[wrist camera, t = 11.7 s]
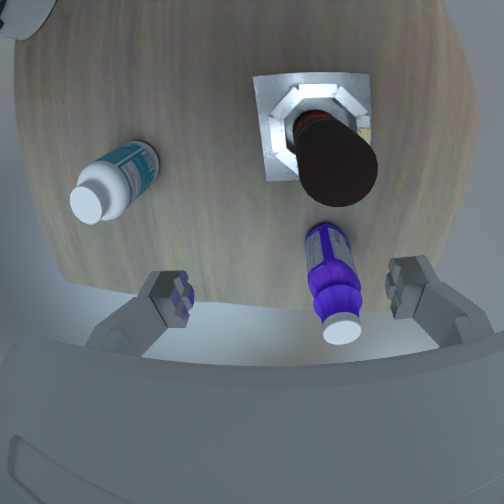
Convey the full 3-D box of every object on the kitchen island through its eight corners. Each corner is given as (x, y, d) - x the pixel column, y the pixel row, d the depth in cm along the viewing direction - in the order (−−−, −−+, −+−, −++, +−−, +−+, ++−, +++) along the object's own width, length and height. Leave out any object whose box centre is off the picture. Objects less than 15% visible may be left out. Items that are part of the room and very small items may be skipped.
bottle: (297, 234, 40) (299, 329, 26) (328, 213, 37) (349, 304, 23) (325, 264, 42) (336, 358, 28) (354, 246, 40) (380, 338, 26)
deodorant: (346, 119, 28) (389, 149, 16) (330, 161, 32) (358, 217, 20) (300, 102, 28) (313, 117, 16) (286, 146, 32) (287, 193, 19)
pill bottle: (111, 170, 36) (56, 211, 25) (129, 130, 32) (68, 161, 21) (148, 195, 38) (101, 246, 27) (170, 157, 34) (120, 198, 24)
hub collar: (253, 76, 27) (247, 75, 23) (367, 74, 25) (382, 73, 21) (266, 180, 35) (264, 196, 31) (369, 176, 33) (381, 192, 29)
